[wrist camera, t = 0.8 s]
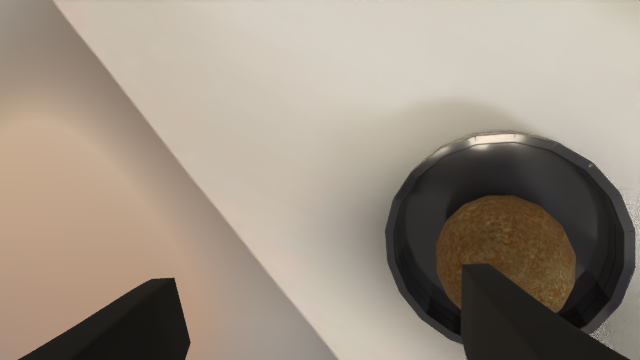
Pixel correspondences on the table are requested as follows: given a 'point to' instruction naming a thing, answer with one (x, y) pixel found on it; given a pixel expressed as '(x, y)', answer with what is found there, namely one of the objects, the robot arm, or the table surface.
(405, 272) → the bowl
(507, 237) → the fruit
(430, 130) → the table surface
